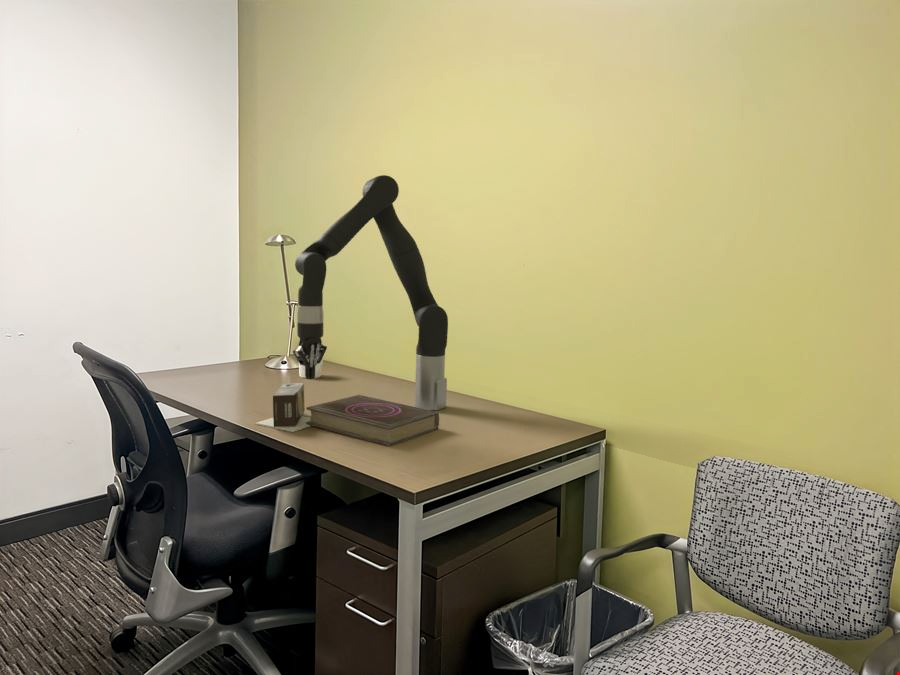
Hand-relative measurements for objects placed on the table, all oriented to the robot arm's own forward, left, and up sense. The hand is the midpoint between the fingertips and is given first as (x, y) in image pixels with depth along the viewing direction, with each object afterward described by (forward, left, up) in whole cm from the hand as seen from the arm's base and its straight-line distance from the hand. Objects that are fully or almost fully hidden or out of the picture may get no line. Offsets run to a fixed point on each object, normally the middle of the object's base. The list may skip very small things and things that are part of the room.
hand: (310, 378), depth 205 cm
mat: (0, +7, -12) cm, 14 cm away
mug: (+38, -46, -12) cm, 61 cm away
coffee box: (+6, 0, -6) cm, 9 cm away
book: (-22, -1, -12) cm, 25 cm away
